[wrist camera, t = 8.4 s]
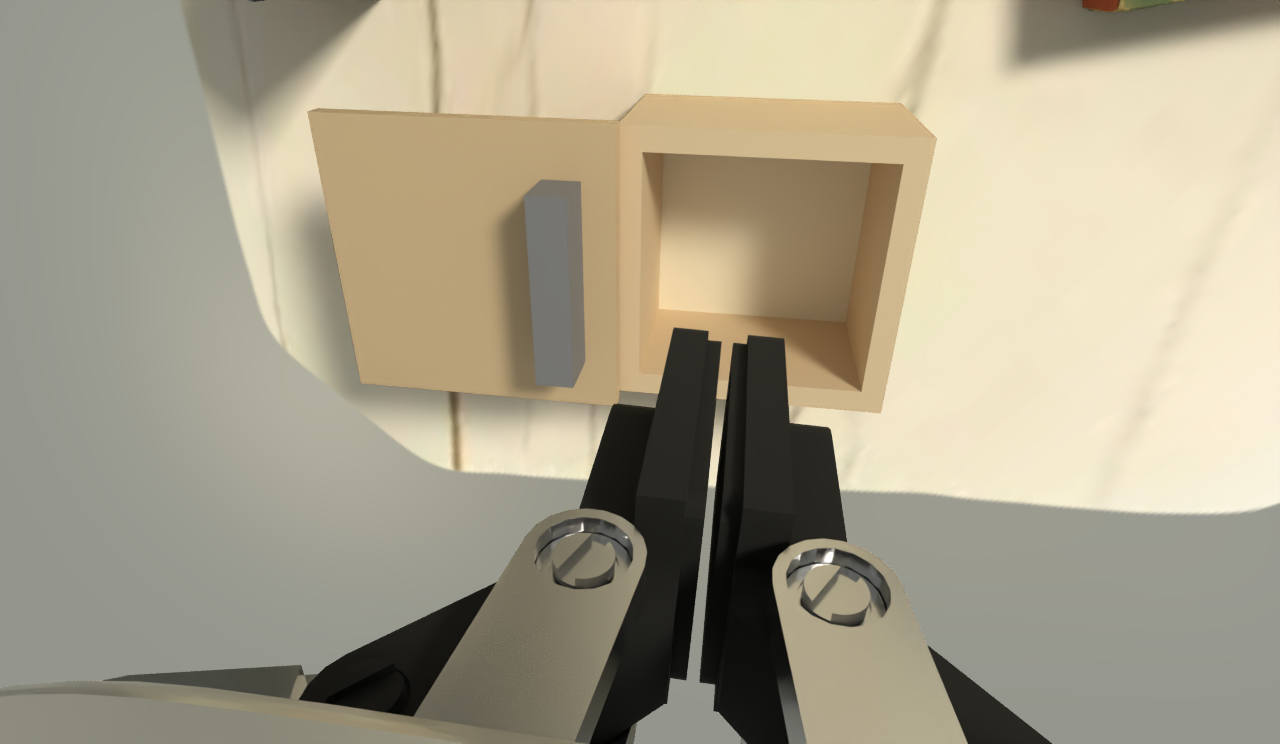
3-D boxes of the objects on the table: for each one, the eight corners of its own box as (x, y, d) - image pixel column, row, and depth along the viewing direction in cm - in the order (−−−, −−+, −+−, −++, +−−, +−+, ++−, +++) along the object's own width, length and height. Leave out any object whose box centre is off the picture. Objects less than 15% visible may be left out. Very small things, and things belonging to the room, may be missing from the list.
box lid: (318, 108, 30) (272, 122, 27) (619, 120, 28) (603, 137, 25) (368, 375, 36) (335, 409, 33) (619, 397, 34) (606, 435, 31)
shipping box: (645, 94, 35) (617, 124, 29) (901, 103, 34) (936, 138, 27) (642, 319, 41) (617, 390, 34) (860, 335, 40) (880, 413, 33)
